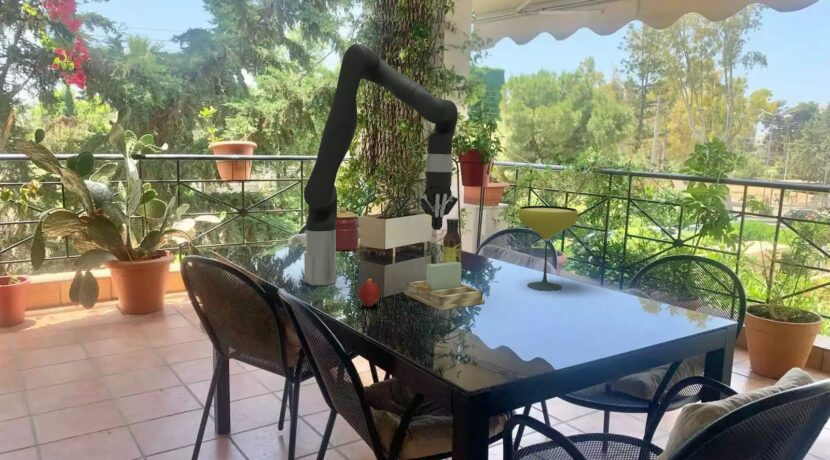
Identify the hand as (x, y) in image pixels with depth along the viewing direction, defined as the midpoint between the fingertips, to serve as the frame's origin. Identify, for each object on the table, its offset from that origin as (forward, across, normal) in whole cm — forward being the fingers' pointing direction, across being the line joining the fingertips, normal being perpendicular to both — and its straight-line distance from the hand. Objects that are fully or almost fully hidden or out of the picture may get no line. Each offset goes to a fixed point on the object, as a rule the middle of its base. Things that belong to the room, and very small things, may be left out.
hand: (436, 229), depth 179 cm
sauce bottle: (+20, -19, -20) cm, 34 cm away
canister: (+21, -6, -86) cm, 88 cm away
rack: (+20, -1, +4) cm, 20 cm away
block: (+19, -1, +4) cm, 19 cm away
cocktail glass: (+20, -38, +5) cm, 43 cm away
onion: (+21, +22, +2) cm, 30 cm away
